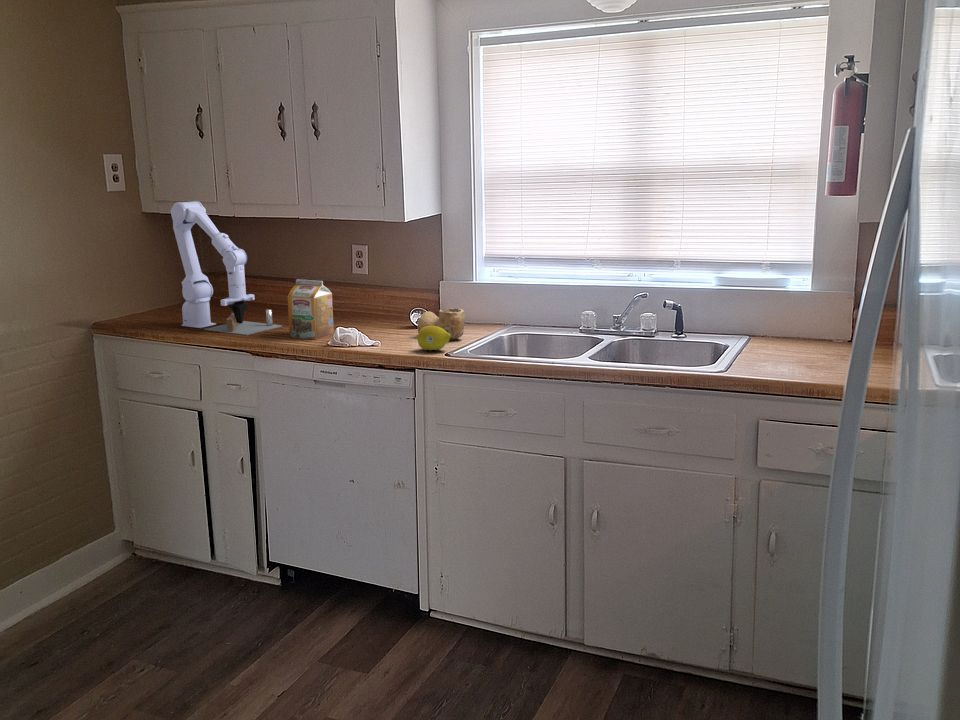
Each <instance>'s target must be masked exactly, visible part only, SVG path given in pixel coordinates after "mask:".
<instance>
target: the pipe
mask: <svg viewBox="0 0 960 720" xmlns="http://www.w3.org/2000/svg"><path fill="white" fill-rule="evenodd" d="M465 323H466V315H465V309H462V308H453V307H450V308H448V309H446V310H443V309H439V310H438V316H437V315H436V313H434V312H433V311H430V310H429V311H427V310H426V311H425V312H423V313H422V314H421V316H420V317H419V319H418V321H417V328H416V329H417V333H419V331H420V330H421V329H422V328H423V327H426V326H437V327H440V328H442V329H444V330H445V331H446V332H448V333H449V334H450V339H449V341H454V340H456V339H459V338H461V337H463V336H464V329H465Z"/></svg>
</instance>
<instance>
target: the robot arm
mask: <svg viewBox="0 0 960 720" xmlns="http://www.w3.org/2000/svg"><path fill="white" fill-rule="evenodd" d="M170 214H171V220H172V229H173V232H174V235H175V237H174V238H175V240H176V243H177V247H178V251H179V255H180V259H181V262H182V266H183V270H184V274H185V277H184V279H182V281H181V286H182V288H181V289H182V290H181V291H182V292H181V293H182V297H183V299H184V300H185V301H184V303H183V304H182V308H181V312H182V314H181V315H182V324H181V326H182V327H188V328H195V329H196V328H197V329H202V328H203V329H204V328H207V327H213V326H215V325H216V326H217V322H216V323H215V322H212V321H211V309H210V306H211V305H210V301H211V297H213V294H214V288H213V285H212V284H211V283H210V280H209V277H208V276H207V275H206V274H204V273H203V272H202V269H201V265H200V261H199V257H198V254H197V250H196V247H195V242H194V238H193V236H192V231H191V229H192V228H193V226H194V225H195V224H197V225H198V226H199V227H200V228H201V229H202V230H203V231H204V232H205V234H207V236H209V237H210V239H211V245H213V247H214V248H215V249H216V250H217V252H218V253H219V255H220V256H222V263H223V265H224V267H225V270H226V272H227V273H226V274H227V283H228V284H227V286H228V297H225V298H224V299H220V306H222V307H224V306H225V307H226V306H228V307H229V308H230V310H231V312H232V311H233V313H234V315H235V318H236V322H237V323H243V321H244V315H245V312H246V310H247V307H248V306H249V304H248V302H247V301H255V299H256V298H255V294H253V293H252V294H251V293H249V294H247V289H246V288H247V287H246V277H245V275H246V274H245V265H246V264H247V261H248V255H247V252H246V251H245V250H244V249H242V248H239V247H238V246H236V244H235V243H234V242H233V241H232V240H231V239H230V238H229V237H230V236H229V235H228V234H226V233H225V232H220V231H219V230H218V228H217V227H216V225H215V224H214V222H213V221H212V220H211V218H210V217H209V215H208V213H207V209H206V208H205V207H204V206H203V203H201V202H200V201H199V200H193V201H182V202H181V201H178V202H177V201H176V202H175V203H174V204H173V205H172V207H171V209H170Z"/></svg>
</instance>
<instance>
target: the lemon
mask: <svg viewBox="0 0 960 720" xmlns="http://www.w3.org/2000/svg"><path fill="white" fill-rule="evenodd" d="M417 333H418V332H417ZM449 339H450V334H449V333H448V332H446V331H445V330H444V329H442V328H440V327H437V326H426V327H423V328H422V329H421V330H420V331H419V333H418V334H417V335H416V340H417V343H418V346H419V347H420V348H421V349H422V350H424V351H426V350H436V351H438V350H440V349H443V348H444V347H445V346H446V344H448V343H449V342H450V340H449Z"/></svg>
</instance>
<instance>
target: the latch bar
mask: <svg viewBox="0 0 960 720" xmlns="http://www.w3.org/2000/svg"><path fill="white" fill-rule="evenodd" d="M225 324H226V325H227V331H233V330H234V329H235V328H236V327H237V326H238V324H239V323H237V322H236V318H235V315H234V313H233V311H232V310H231V314H230V315H229V316H228V317H227V318H226V321H225Z"/></svg>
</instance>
